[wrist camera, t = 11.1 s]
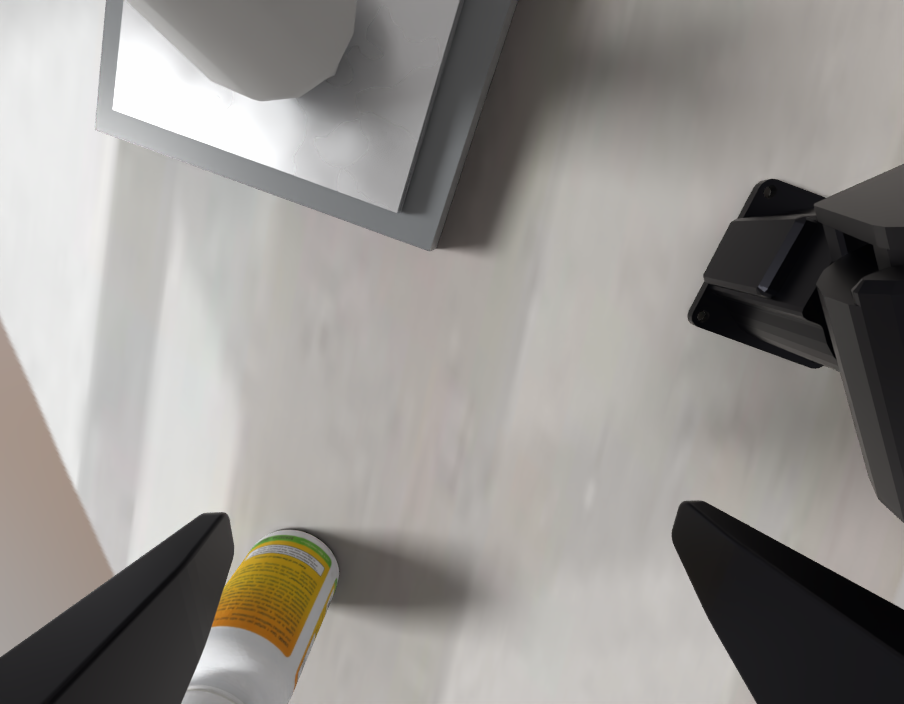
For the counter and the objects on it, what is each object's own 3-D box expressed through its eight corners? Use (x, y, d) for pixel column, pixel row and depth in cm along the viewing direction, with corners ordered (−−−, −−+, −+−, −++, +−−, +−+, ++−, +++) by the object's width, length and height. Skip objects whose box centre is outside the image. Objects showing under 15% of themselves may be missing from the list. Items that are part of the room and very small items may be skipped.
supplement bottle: (240, 531, 25) (94, 712, 16) (327, 521, 24) (229, 704, 15) (267, 604, 26) (148, 811, 17) (351, 597, 26) (274, 807, 16)
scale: (558, -123, 16) (574, -199, 13) (436, 248, 20) (428, 251, 17) (191, -266, 15) (126, -376, 12) (143, 142, 19) (86, 127, 16)
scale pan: (481, -57, 14) (481, -73, 13) (401, 213, 17) (397, 213, 16) (162, -180, 14) (143, -203, 13) (130, 115, 16) (112, 109, 16)
